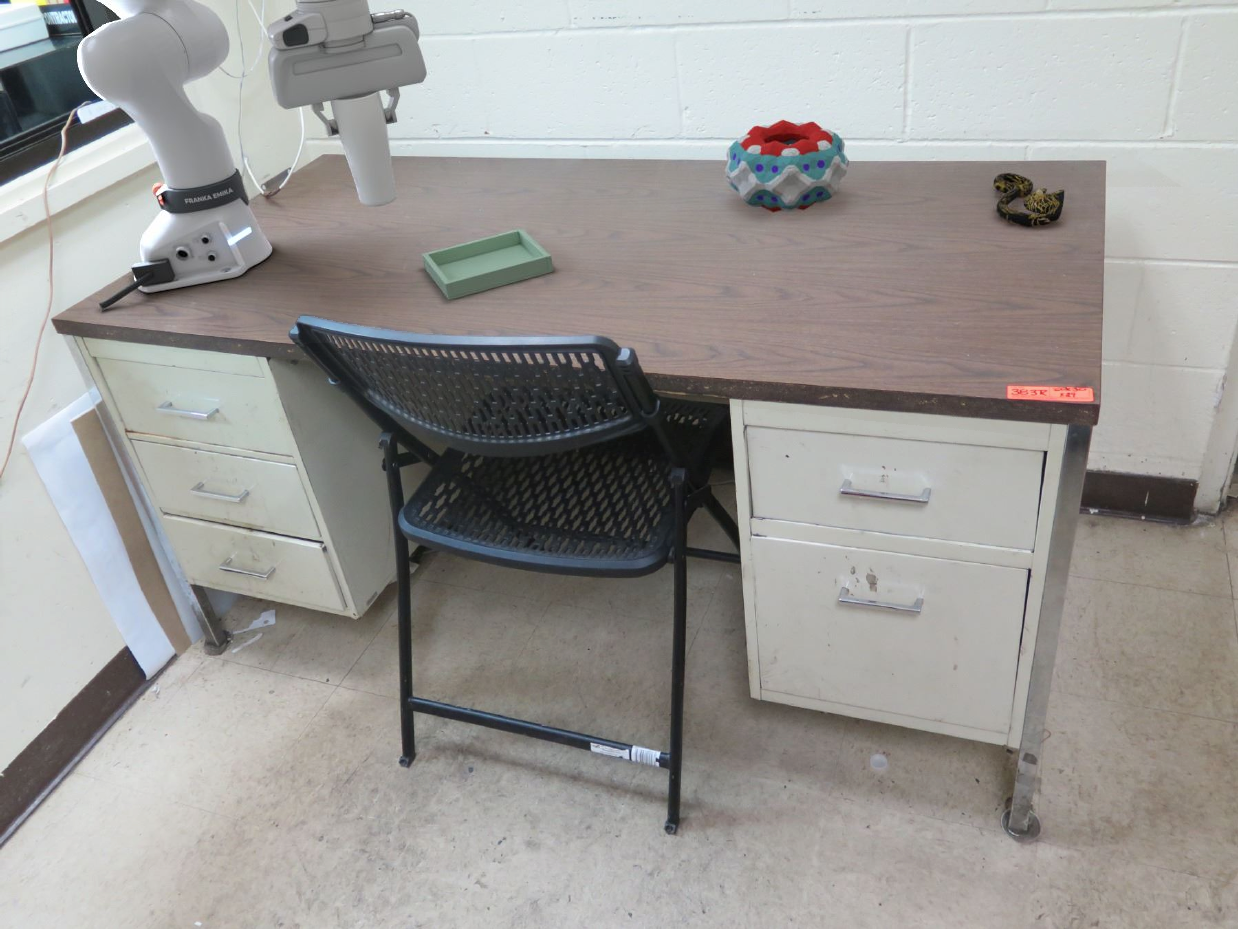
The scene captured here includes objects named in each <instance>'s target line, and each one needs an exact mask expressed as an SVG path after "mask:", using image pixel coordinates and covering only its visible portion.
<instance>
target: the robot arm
mask: <svg viewBox="0 0 1238 929" xmlns="http://www.w3.org/2000/svg"><path fill="white" fill-rule="evenodd" d="M97 1H98V2H100V3H102V4H103V5H105V6H106V7H107V8H109V9H110V10H112V11H113V12H114V13H115V14H116V15H117V16H118V17H119V18H120V19H117V20H114V21H112V22H107V23H106V24H102V25H101V26H100V27H99V28H97V29H95V30H94V31H93V32H91V33H90V34H88V35H87V36H86V37H84V38H83V39H82V40H81V42H80V43H79V45H78V48H77V65H78V69H79V71H80V74H81V76H82V78H83V80H84V81H85V83H86V85H87V87H89V88H90V90H91V91H92V92H93V93H94V94H96V95H97V96H98V97H99V98H101V99H102V100H104V101H106V102H108V103H110V104H112V105H114V106H116V107H118V108H120V109H121V110H122V111H124V112H125V113H126V114H127V115H128V116H129V117H130V118H131V119H132V120H133V121H134V122H135V123H136V125H137V126H138V128H139V129H140V130H141V131H142V133H143V135H144V136H145V138H146V140H147V142H148V143H149V145H150V148H151V150H152V153H153V155H154V158H155V160H156V163H157V164H158V167H159V169H160V173H161V174H162V177H163V180H164V182H165V183H164V184H163V183H161V182H156V183H154V184H153V185H152V186H153V187H152V193H153V195H154V196H155V197H156V199H157V203H158V205H159V207H160V209H161V211H160V212H159V214H158V215H157V216H156V217H155V219H154V220H153V221H152V223H151V224H150V225H149V226H148V228H147V229H146V230H145V231H144V233H143V234H142V236H141V239H140V244H139V245H140V247H139V252H140V258H141V261H140V262H134V263H133V264H132V265H131V267H130V270H131V271H132V274H133V280H134V282H132V283H131V284H129V285H127V286H126V287H125V288H122V289H121V290H120V291H118V292H116V293H115V294H114V295H113V296H111V297H109V298H107V299H106V300H104V301H101V302H99V307H100V308H101V309H102V310H104V309H107V308H109V307H110V306H112V305H114V304H115V303H117V302H118V301H120V300H122V299H123V298H124V297H126V296H128V295H129V294H131V293H132V292H133V291H135V290H137V289H138V290H139V291H141V292H143V293H146V294H147V293H148V294H149V293H156V292H161V291H166V290H173V289H178V288H183V287H189V286H196V285H200V284H206V283H212V282H217V281H221V280H229V279H233V278H238V277H240V276H242V275H243V274H244V273H245V272H246V271H248V270H249V269H250V268H252V267H253V266H255V265H257V264H259V263H261V262H264V260H266V259H267V258H268V257H269V256H270V255H271V254H272V252H273V246H272V244H271V243H270V242H269V241H268V239H267V237H266V236H265V234H264V233H263V231H262V230H261V227H260V225H259V224H258V223H259V222H258V221H257V219H256V217H255V214H254V213H253V211H252V209H251V206H250V198H249V194H248V190H247V188H246V185H245V184H246V183H245V181H244V179H243V178H244V177H243V175H242V174H241V173H240V170H239V168H237V167H236V165H235V162H234V159H233V156H232V153H231V149H230V146H229V143H228V141H227V138H226V134H225V132H224V129H223V126H222V125H221V123H220V122H219V121H218V119H216V118H215V117H214V116H212V115H211V114H209V113H206V112H203V111H200V110H198V109H197V108H196V107H195V106H194V105H193V103H192V102H191V100H190V99H189V97H188V95H187V93H186V91H185V88H184V86H185V85H188V84H190V83H192V82H195V81H197V80H200V79H202V78H205V77H207V76H209V75H210V74H211V73H213V71H214V70H216V69H217V68H219V66H221V65H222V64H223V63H224V62H225V61H226V59H227V58H228V57H229V53H230V48H231V47H230V38H229V34H228V30H227V28H226V25H225V24H224V22H223V21H222V19H221V17H220V16H219V15H218V14H217V13H216V12H215V11H214V10H213V9H212V8H210V7H209V6H207V5H205V4H202V3H200V2H198V1H196V0H97ZM294 1H295V5H296V9H295V10H293V11H291V12H290V13H288V14H286V15H285V16H283V17H280V18H279V19H277V20H275V21H273V22H272V23H270V24H269V25H268V26H267V27H266V35H267V38H268V40H269V42H270V44H271V45H272V47H271V48H270V49H269V51H268V55H267V64H268V65H267V66H268V74H269V80H270V86H271V90H272V95H273V98H274V101H275V102H276V104H277V105H278V106H280V107H281V108H282V109H284V110H291V109H297V108H302V107H307V106H310V108H311V111H312V112H313V113H314V114H315V115H316V116H317V117H318V119H319V120H320V121H321V122H323V125H324V129H325V133H326V135H327V137H333V136H339V130H338V129H337V127H338V126H337V123H336V121H335V120H334V118H331V119H328V118H327V117H326V116H325V115H324V114H323V112H324V111H325V107H324V103H326V102H330V101H332V100H336V99H342V98H347V97H352V96H357V95H362V94H367V93H372V92H377V91H379V92H381V91H385V92H386V94H387V95H388V96H389V100H388V103H387V106H386V107H384V112H385V117H386V123H387V125H390V124H395V123H398V117H397V113H396V110H397V106H398V104H399V100H400V98H401V93H400V88H402V87H406V86H411V85H417V84H421V83H423V82H425V79H426V78H427V75H428V73H427V67H426V62H425V60H424V56H423V54H422V50H421V47H420V44H419V39H420V28H419V23H418V20H417V18H416V16H415V15H414V14H412V13H411V12H409V11H404V9H401V8H400V9H397V8H396V9H394V10H391V11H381V12H375V13H374V12H373V13H371V11H370V6H369V0H294Z"/></svg>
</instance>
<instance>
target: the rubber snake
mask: <svg viewBox="0 0 1238 929" xmlns="http://www.w3.org/2000/svg"><path fill="white" fill-rule="evenodd" d="M993 187H994V188H995V189H996V191H997V192H999V193H1002V194H1003V195H1001V197H1000V198H999V199H998V201H997V203H996V212H997V214H998V216H999V217H1000V218H1002V219H1003V220H1005V221H1006V222H1008V223H1011V224H1015V225H1017V226H1021V227H1025V228H1035V227H1043V226H1048V225H1051V224H1053V223H1055V222H1056V221H1058V220H1059V219H1060V217H1061V215H1062V213H1063V212H1062V211H1063V207H1064V201H1065V190H1064V189H1059V190H1056V191H1053V192H1050V193H1047V192H1048V188H1046V187H1045V188H1044V187H1042V188H1039V189H1037V190H1033V189H1034V183H1033V181H1032V180H1031V179H1030V178H1028V177H1025V176H1022V175H1020V174H1016V173H1012V172H1007V173H1006V172H1002V173H999V174H997V175H996V176H995V177H994V179H993ZM1032 191H1033V192H1032ZM1017 198H1024V199H1023V200H1022V204H1023V207H1024V208H1025V210H1027V211H1029V212H1032V213H1029V212H1023V211H1019V210H1017V209H1013V208H1010V206H1009V205H1010V204H1011V203H1012V202H1013V201H1014V200H1016V199H1017Z"/></svg>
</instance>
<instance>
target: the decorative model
mask: <svg viewBox="0 0 1238 929" xmlns="http://www.w3.org/2000/svg"><path fill="white" fill-rule="evenodd" d="M845 145H846V144H845V142H844V139H843V138H841V137H840V136H839V135H838V133H836V132H835V131H832V130H831V129H828V128H823V127H821V126H820V125H819V124H817V123H816V122H814V121H809V122H806V123H805V122H802V121H800V122H792V121H789V120H785V119H781V120H779V121H777V122H775V123H773V124H770V125H769V124H767V125H766V124H764V125H754V126H753V127H752V128H751V129H749V130H748V131H747V133H746V134H745V135H743V136H740V137H739V138H737V139H736V140H735V141H734V142H733V143H732V144H731V145H730V146H729V147H728V148H727V150H726V154H725V156H726V159H727V164H726V166H725V168H724V175H725V177H726V178H727V179H726V181H727V183H728V184H729V185H730V187H732V188H733V189H734V191H736V192H738V194H739V197H740V199H741V200H742V201H743V202H744V203H745V204H747V205H748V206H751V207H752V208H763V209H765V210H767V211H769V212H772V213H776V212H780V211H786V212H794V211H795V210H800V211H805V210H807V209H808V208H811V207H812V206H813V205H815V204H821V203H824V202H826V201H828V200H830V199H832V197H833V196H836V194H837V193H838V192H839V189H840V182H841V181H842V179H843V178H844V177H845V176H846V175H847V174H848V167H849V165H850V160H849V159H848V156H847V155H846V154H845Z"/></svg>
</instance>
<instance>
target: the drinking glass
mask: <svg viewBox="0 0 1238 929" xmlns="http://www.w3.org/2000/svg"><path fill="white" fill-rule="evenodd" d="M380 92H381V91H377V92H372V93H367V94H362V95H357V96H352V97H347V98H342V99H336V100H332V101H329V103H330V107H331V111H332V116H333V119H334V120H335V121H336V123H337V126H338V127H337V129H338V130H339V134H338V137H339V140H340V143H341V146H342V149H343V152H344V155H345V158H346V160H347V163H348V164H347V165H348V167H349V170H350V173H351V176H352V179H353V181H354V185H355V188H356V191H357V195H358V199H359V202H360V203H361V205H363V206H366V207H370V208H371V207H373V208H375V207H382V206H386V205H389V204H391V203H393V202H395V200H396V199H397V197H398V191H397V187H396V182H395V175H394V174H395V173H394V168H393V167H394V166H393V159H392V153H391V147H390V146H391V145H390V138H389V130H388V124H387V123H386V117H385V112H384V109H385V107H384V104H383V100H382V97H381V96H382V95H381V93H380Z"/></svg>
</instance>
